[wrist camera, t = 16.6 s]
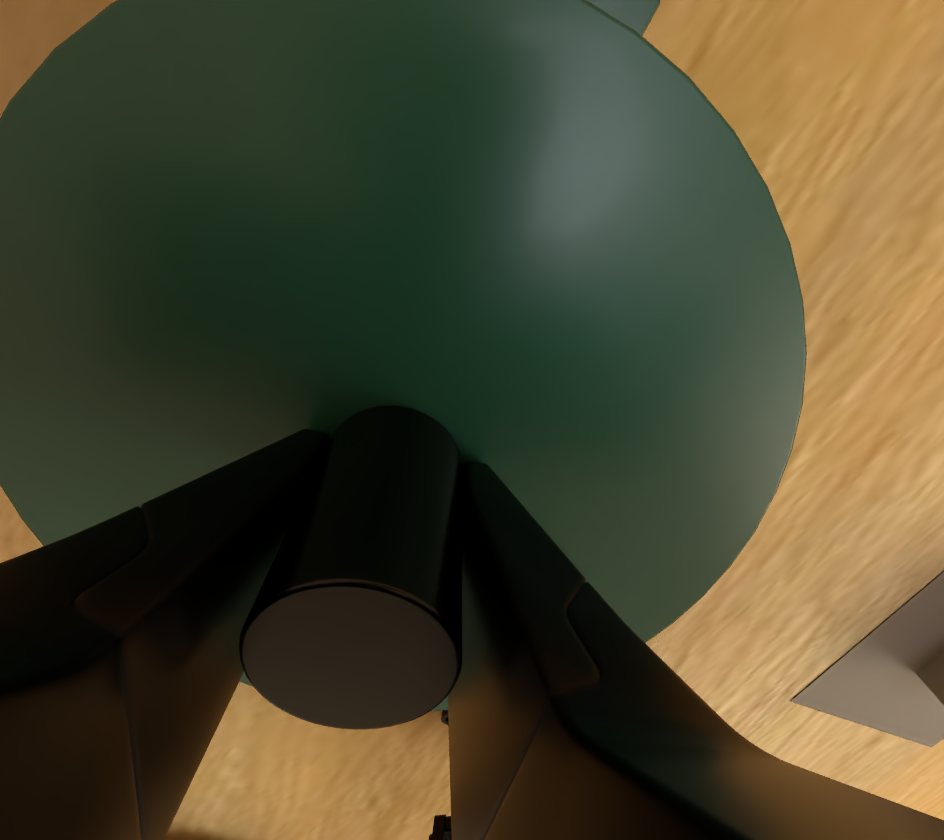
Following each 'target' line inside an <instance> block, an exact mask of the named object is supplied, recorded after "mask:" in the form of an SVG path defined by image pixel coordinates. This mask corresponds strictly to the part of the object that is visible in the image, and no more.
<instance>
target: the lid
mask: <svg viewBox="0 0 944 840" xmlns="http://www.w3.org/2000/svg"><path fill="white" fill-rule="evenodd" d="M806 355H807V352H806V338H805V323H804V309H803V298H802V294H801V289H800V285H799V281H798V276H797V272H796V267H795V263H794V258H793V254H792V249H791V245H790V242H789V240H788V237H787V235H786V232H785V230H784V227H783V225H782V222H781V220H780V217H779V215H778V212H777V210H776V207H775V205H774V202H773V199H772V197H771V194H770V192H769V189H768V187H767V185H766V184H765V182H764V180H763V178H762V177H761V175H760V173H759V172H758V170H757V168H756V167H755V165H754V163H753V162H752V160H751V158H750V157H749V155H748V153H747V152H746V150H745V148H744V147H743V145H742V143H741V141H740V140H739V138H738V136H737V135H736V133H735V131H734V130H733V129H732V128H731V126H730V125H729V124H728V123H727V122H726V120H725V119H724V118H723V117H722V116H721V114H720V113H719V112H718V111H717V110H716V108H715V107H714V106H713V105H712V104H711V102H710V101H709V100H708V99H707V98H706V96H705V95H704V94H703V93H702V92H701V90H700V89H699V88H698V87H697V86H696V85H695V83H694V82H693V81H692V80H691V79H690V77H689V76H687V75H686V74H685V73H684V72H683V71H682V70H680V69H679V68H678V67H677V66H676V65H675V64H674V63H672V62H671V61H670V60H669V59H668V58H667V57H665V56H664V55H663V54H662V53H661V52H660V51H659V50H657V49H656V48H655V47H654V46H653V45H652V44H650V43H649V42H648V41H647V40H646V39H645V38H644V37H642V36H641V35H640V34H639V33H638V32H637V31H635V30H634V29H633V28H631V27H630V26H628V25H626V24H625V23H623V22H621V21H620V20H618V19H617V18H615V17H613V16H612V15H610V14H609V13H607V12H605V11H604V10H602V9H600V8H599V7H597V6H596V5H594V4H592V3H591V2H589V1H587V0H117V1H115V2H114V3H112V4H110V5H109V6H108V7H107V8H105V9H104V10H103V11H102V12H100V13H99V14H98V15H97V16H95V17H94V18H93V19H92V20H90V21H89V22H88V23H86V24H85V25H84V26H83V27H81V28H80V29H79V30H78V31H76V32H75V33H74V34H73V35H71V36H70V37H69V38H68V39H66V40H65V41H64V42H63V43H61V44H60V45H59V46H58V47H56V48H55V49H54V50H53V51H52V52H51V54H50V55H49V56H48V57H47V58H46V59H45V61H44V62H43V63H42V64H41V65H40V66H39V68H38V69H37V70H36V71H35V72H34V73H33V75H32V76H31V77H30V78H29V79H28V80H27V82H26V83H25V84H24V85H23V86H22V87H21V89H20V90H19V91H18V92H17V93H16V94H15V96H14V97H13V98H12V99H11V100H10V102H9V104H8V105H7V107H6V109H5V111H4V112H3V114H2V116H1V118H0V485H1V487H2V488H3V490H4V491H5V493H6V495H7V496H8V498H9V499H10V501H11V502H12V504H13V506H14V507H15V509H16V510H17V512H18V514H19V515H20V517H21V518H22V520H23V521H24V522H25V523H26V525H27V526H28V527H29V528H30V530H31V531H32V532H33V533H34V535H35V536H36V537H37V538H38V540H39V541H40V542H41V543H42V545H43V546H46V545H49V544H51V543H54V542H56V541H59V540H61V539H64V538H66V537H69V536H71V535H74V534H76V533H78V532H81V531H83V530H85V529H87V528H90V527H92V526H94V525H96V524H99V523H101V522H103V521H106V520H108V519H110V518H112V517H115V516H117V515H119V514H121V513H123V512H125V511H128V510H130V509H132V508H134V507H136V506H139V507H141V505H142V504H143V503H145V502H147V501H150V500H152V499H154V498H156V497H158V496H160V495H162V494H165V493H167V492H169V491H171V490H173V489H175V488H178V487H180V486H182V485H184V484H186V483H188V482H191V481H193V480H195V479H197V478H199V477H201V476H203V475H206V474H208V473H210V472H212V471H214V470H216V469H219V468H221V467H223V466H225V465H227V464H229V463H231V462H234V461H236V460H238V459H240V458H242V457H244V456H247V455H249V454H251V453H253V452H255V451H257V450H260V449H262V448H264V447H266V446H268V445H270V444H272V443H275V442H277V441H279V440H281V439H283V438H285V437H288V436H290V435H292V434H294V433H296V432H298V431H300V430H303V429H310V430H315V431H321V432H325V433H327V434H328V444H327V446H326V449H325V451H324V453H323V455H322V457H321V459H320V461H319V464H318V466H317V468H316V470H315V472H314V474H313V477H312V479H311V481H310V483H309V485H308V487H307V489H306V492H305V494H304V496H303V498H302V500H301V502H300V504H299V507H298V509H297V511H296V513H295V515H294V517H293V520H292V522H291V524H290V526H289V528H288V530H287V532H286V535H285V537H284V539H283V541H282V543H281V545H280V547H279V550H278V552H277V554H276V556H275V558H274V560H273V563H272V565H271V567H270V569H269V571H268V573H267V575H266V578H265V580H264V582H263V584H262V586H261V588H260V590H259V593H258V595H257V597H256V599H255V601H254V603H253V606H252V608H251V610H250V612H249V614H248V616H247V618H246V621H245V623H244V625H243V628H242V631H241V633H240V640H239V655H240V661H241V665H242V668H243V670H244V672H243V674H242V677H241V679H240V681H239V682H242V683H245V684H248V685H251V686H253V687H254V688H255V689H256V690H257V691H258V692H259V693H260V694H261V695H262V696H263V697H264V698H265V699H267V700H268V701H269V702H270V703H272V704H273V705H275V706H276V707H278V708H279V709H281V710H283V711H285V712H287V713H289V714H291V715H293V716H295V717H298V718H300V719H302V720H305V721H308V722H311V723H315V724H319V725H323V726H328V727H334V728H341V729H378V728H384V727H390V726H394V725H398V724H402V723H405V722H408V721H411V720H414V719H416V718H418V717H420V716H422V715H424V714H426V713H428V712H429V711H439V710H448V695H449V694H450V692H451V691H452V689H453V688H454V686H455V684H456V682H457V680H458V677H459V675H460V672H461V667H462V467H463V464H464V462H465V461H467V460H471V461H476V462H481V463H486V464H488V465H489V466H490V468H491V469H492V470H493V471H494V472H495V473H496V475H497V476H498V477H499V478H500V479H501V480H502V482H503V483H504V484H505V485H506V486H507V487H508V488H509V490H510V491H511V492H512V493H513V494H514V495H515V497H516V498H517V499H518V500H519V501H520V502H521V504H522V505H523V506H524V507H525V508H526V509H527V511H528V512H529V513H530V514H531V515H532V516H533V518H534V519H535V520H536V521H537V522H538V523H539V525H540V526H541V527H542V528H543V529H544V530H545V532H546V533H547V534H548V535H549V536H550V537H551V539H552V540H553V541H554V542H555V543H556V544H557V546H558V547H559V548H560V549H561V550H562V551H563V553H564V554H565V555H566V556H567V557H568V558H569V560H570V561H571V562H572V563H573V564H574V565H575V566H576V568H577V569H578V570H579V571H580V572H581V573H582V575H583V576H584V577H585V578H586V582H589V583H590V584H591V585H592V586H593V587H594V588H595V590H596V591H597V592H598V593H599V594H600V595H601V597H602V598H603V599H604V600H605V601H606V602H607V603H608V604H609V605H610V607H611V608H612V609H613V610H614V611H615V612H616V613H617V614H618V615H619V617H620V618H621V619H622V620H623V621H624V622H625V623H626V624H627V625H628V626H629V627H630V628H631V629H632V630H633V631H634V632H635V633H636V634H637V635H638V636H639V637H640V638H641V639H642V640H643V641H644V642H645V643H646V642H647V641H649V640H650V639H651V638H653V637H654V636H656V635H657V634H658V633H660V632H661V631H663V630H664V629H665V628H667V627H668V626H670V625H671V624H672V623H674V622H675V621H676V620H677V619H678V618H679V617H680V616H682V615H683V614H684V613H685V612H686V611H687V610H688V609H689V608H691V607H692V606H693V605H694V604H695V603H696V602H697V601H698V600H700V599H701V598H702V597H703V596H704V595H705V594H706V593H707V591H708V590H709V589H710V588H711V587H712V586H713V585H714V584H715V583H716V582H717V580H718V579H719V578H720V577H721V576H722V575H723V574H724V573H725V572H726V570H727V569H728V568H729V567H730V566H731V565H732V563H733V562H734V560H735V559H736V558H737V556H738V555H739V553H740V552H741V551H742V549H743V548H744V546H745V545H746V544H747V542H748V541H749V539H750V538H751V537H752V535H753V534H754V532H755V531H756V529H757V527H758V525H759V523H760V521H761V519H762V518H763V516H764V514H765V512H766V510H767V508H768V506H769V505H770V503H771V501H772V499H773V497H774V495H775V493H776V491H777V488H778V486H779V483H780V480H781V478H782V475H783V472H784V470H785V467H786V465H787V462H788V459H789V457H790V454H791V451H792V448H793V443H794V439H795V435H796V430H797V426H798V421H799V417H800V413H801V408H802V404H803V392H804V379H805V367H806Z"/></svg>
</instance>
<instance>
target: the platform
mask: <svg viewBox="0 0 944 840" xmlns="http://www.w3.org/2000/svg"><path fill="white" fill-rule="evenodd" d="M791 702H794V703H797V704H800V705H803V706H806V707H809V708H812V709H815V710H818V711H821V712H825V713H828V714H831V715H834V716H837V717H840V718H843V719H846V720H849V721H852V722H855V723H858V724H862V725H865V726H868V727H871V728H874V729H877V730H880V731H883V732H886V733H889V734H892V735H895V736H899V737H902V738H905V739H908V740H911V741H914V742H917V743H920V744H923V745H926V746H929V747H932V746H934V745H935V744H937V743H938V742H940V741H941V740H943V739H944V572H943V573H942V574H940V575H939V576H938V577H937V578H936V579H935V580H933V581H932V582H931V583H930V584H929V585H927V586H926V587H925V588H924V589H923V590H922V591H920V592H919V593H918V594H917V595H916V596H914V597H913V598H912V599H911V600H910V601H909V602H907V603H906V604H905V605H904V606H903V607H901V608H900V609H899V610H898V611H897V612H896V613H894V614H893V615H892V616H891V617H890V618H889V619H887V620H886V621H885V622H884V623H883V624H881V625H880V626H879V627H878V628H877V629H876V630H874V631H873V632H872V633H871V634H870V635H868V636H867V637H866V638H865V639H864V640H863V641H861V642H860V643H859V644H858V645H857V646H855V647H854V648H853V649H852V650H851V651H850V652H848V653H847V654H846V655H845V656H844V657H842V658H841V659H840V660H839V661H838V662H837V663H835V664H834V665H833V666H832V667H831V668H829V669H828V670H827V671H826V672H825V673H824V674H822V675H821V676H820V677H819V678H818V679H816V680H815V681H814V682H813V683H812V684H811V685H809V686H808V687H807V688H806V689H805V690H803V691H802V692H801V693H800V694H799V695H798V696H796V697H795V698H794V699H793V700H792V701H791Z"/></svg>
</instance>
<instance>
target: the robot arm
mask: <svg viewBox="0 0 944 840" xmlns="http://www.w3.org/2000/svg"><path fill="white" fill-rule="evenodd" d="M327 444H328V434H327V433H325V432H321V431H315V430H310V429H303V430H300V431H298V432H296V433H294V434H292V435H290V436H288V437H285V438H283V439H281V440H279V441H277V442H275V443H272V444H270V445H268V446H266V447H264V448H262V449H260V450H257V451H255V452H253V453H251V454H249V455H247V456H244V457H242V458H240V459H238V460H236V461H234V462H231V463H229V464H227V465H225V466H223V467H221V468H219V469H216V470H214V471H212V472H210V473H208V474H206V475H203V476H201V477H199V478H197V479H195V480H193V481H191V482H188V483H186V484H184V485H182V486H180V487H178V488H175V489H173V490H171V491H169V492H167V493H165V494H162V495H160V496H158V497H156V498H154V499H152V500H150V501H147V502H145V503H143V504H142V505H141V507H139V506H136V507H134V508H132V509H130V510H128V511H125V512H123V513H121V514H119V515H117V516H115V517H112V518H110V519H108V520H106V521H103V522H101V523H99V524H96V525H94V526H92V527H90V528H87V529H85V530H83V531H81V532H78V533H76V534H74V535H71V536H69V537H66V538H64V539H61V540H59V541H56V542H54V543H51V544H49V545H46V546H44V547H41V548H38V549H36V550H33V551H31V552H28V553H26V554H23V555H21V556H18V557H15V558H13V559H10V560H7V561H5V562H2V563H0V840H164V838H165V836H166V834H167V832H168V830H169V827H170V825H171V823H172V821H173V819H174V817H175V815H176V813H177V811H178V809H179V806H180V804H181V802H182V800H183V798H184V796H185V794H186V792H187V790H188V788H189V786H190V783H191V781H192V779H193V777H194V775H195V773H196V771H197V769H198V767H199V765H200V762H201V760H202V758H203V756H204V754H205V752H206V750H207V748H208V746H209V744H210V742H211V739H212V737H213V735H214V733H215V731H216V729H217V727H218V725H219V723H220V721H221V718H222V716H223V714H224V712H225V710H226V708H227V706H228V704H229V702H230V700H231V698H232V695H233V693H234V691H235V689H236V687H237V685H238V683H239V681H240V679H241V677H242V674H243V672H244V670H243V668H242V665H241V661H240V655H239V640H240V633H241V631H242V628H243V625H244V623H245V621H246V618H247V616H248V614H249V612H250V610H251V608H252V606H253V603H254V601H255V599H256V597H257V595H258V593H259V590H260V588H261V586H262V584H263V582H264V580H265V578H266V575H267V573H268V571H269V569H270V567H271V565H272V563H273V560H274V558H275V556H276V554H277V552H278V550H279V547H280V545H281V543H282V541H283V539H284V537H285V535H286V532H287V530H288V528H289V526H290V524H291V522H292V520H293V517H294V515H295V513H296V511H297V509H298V507H299V504H300V502H301V500H302V498H303V496H304V494H305V492H306V489H307V487H308V485H309V483H310V481H311V479H312V477H313V474H314V472H315V470H316V468H317V466H318V464H319V461H320V459H321V457H322V455H323V453H324V451H325V449H326V446H327ZM441 720H442V722H443V723H445V724H447V725H448V726H449V755H450V791H451V816H448V817H446V815H436V816H435V818H434V826H433V833H432V834H430V836H429V840H944V820H941V819H938V818H935V817H933V816H930V815H927V814H925V813H922V812H919V811H917V810H914V809H911V808H908V807H906V806H903V805H900V804H898V803H895V802H892V801H890V800H887V799H884V798H881V797H879V796H876V795H873V794H871V793H868V792H865V791H863V790H860V789H857V788H854V787H852V786H849V785H846V784H844V783H841V782H838V781H836V780H833V779H830V778H827V777H825V776H822V775H819V774H817V773H814V772H811V771H809V770H806V769H803V768H800V767H798V766H795V765H792V764H790V763H787V762H785V761H783V760H780V759H778V758H776V757H774V756H773V755H771V754H769V753H767V752H765V751H763V750H762V749H760V748H758V747H757V746H755V745H754V744H752V743H751V742H749V741H748V740H746V739H745V738H744V737H743V736H741V735H740V734H739V733H737V732H736V731H735V730H734V729H733V728H732V727H730V726H729V725H728V724H727V723H726V722H725V721H724V720H723V719H722V718H721V717H720V716H719V715H718V714H717V713H716V712H715V711H714V710H713V709H711V708H710V707H709V706H708V705H707V704H706V703H705V702H704V701H703V700H702V699H701V698H700V697H699V696H698V695H697V694H696V693H695V692H694V691H693V690H692V689H691V688H690V687H689V686H688V685H687V684H686V683H685V682H684V681H683V680H682V679H681V678H680V677H679V676H678V675H677V674H676V673H675V672H674V671H673V670H672V669H671V668H670V667H669V666H668V665H667V664H666V663H665V662H664V661H663V660H662V659H661V658H660V657H658V656H657V655H656V654H655V653H654V652H653V651H652V650H651V649H650V648H649V647H648V646H647V645H646V644H645V642H644V641H643V640H642V639H641V638H640V637H639V636H638V635H637V634H636V633H635V632H634V631H633V630H632V629H631V628H630V627H629V626H628V625H627V624H626V623H625V622H624V621H623V620H622V619H621V618H620V617H619V615H618V614H617V613H616V612H615V611H614V610H613V609H612V608H611V607H610V605H609V604H608V603H607V602H606V601H605V600H604V599H603V598H602V597H601V595H600V594H599V593H598V592H597V591H596V590H595V588H594V587H593V586H592V585H591V584H590V583H589V582H586V578H585V577H584V576H583V575H582V573H581V572H580V571H579V570H578V569H577V568H576V566H575V565H574V564H573V563H572V562H571V561H570V560H569V558H568V557H567V556H566V555H565V554H564V553H563V551H562V550H561V549H560V548H559V547H558V546H557V544H556V543H555V542H554V541H553V540H552V539H551V537H550V536H549V535H548V534H547V533H546V532H545V530H544V529H543V528H542V527H541V526H540V525H539V523H538V522H537V521H536V520H535V519H534V518H533V516H532V515H531V514H530V513H529V512H528V511H527V509H526V508H525V507H524V506H523V505H522V504H521V502H520V501H519V500H518V499H517V498H516V497H515V495H514V494H513V493H512V492H511V491H510V490H509V488H508V487H507V486H506V485H505V484H504V483H503V482H502V480H501V479H500V478H499V477H498V476H497V475H496V473H495V472H494V471H493V470H492V469H491V468H490V466H489V465H488V464H486V463H481V462H476V461H471V460H467V461H465V462H464V464H463V467H462V667H461V672H460V675H459V677H458V680H457V682H456V684H455V686H454V688H453V689H452V691H451V692H450V694H449V695H448V710H443V711H442V714H441Z"/></svg>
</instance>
